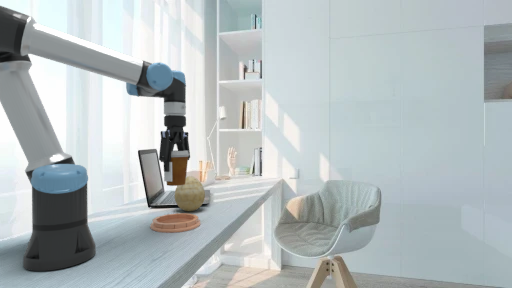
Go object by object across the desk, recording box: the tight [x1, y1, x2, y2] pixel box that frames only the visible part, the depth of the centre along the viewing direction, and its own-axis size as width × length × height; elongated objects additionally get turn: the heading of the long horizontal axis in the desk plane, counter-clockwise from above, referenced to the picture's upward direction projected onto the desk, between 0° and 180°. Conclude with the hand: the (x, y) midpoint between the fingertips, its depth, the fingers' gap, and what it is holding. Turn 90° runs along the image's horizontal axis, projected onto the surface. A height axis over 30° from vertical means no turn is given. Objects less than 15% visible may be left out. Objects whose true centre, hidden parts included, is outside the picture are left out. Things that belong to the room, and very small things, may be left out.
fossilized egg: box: [174, 175, 206, 212], centre depth 127 cm, size 13×13×15 cm
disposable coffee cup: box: [165, 149, 189, 187], centre depth 105 cm, size 10×10×12 cm
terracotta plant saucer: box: [150, 212, 201, 234], centre depth 105 cm, size 17×17×2 cm
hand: (175, 179), depth 105 cm, fingers closed on disposable coffee cup, 8 cm apart
